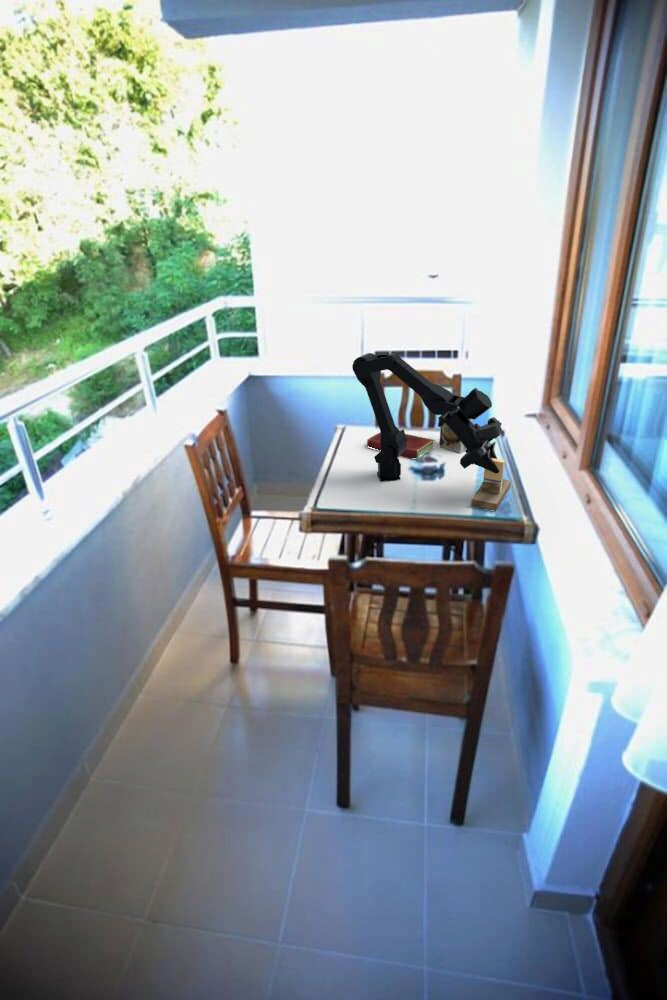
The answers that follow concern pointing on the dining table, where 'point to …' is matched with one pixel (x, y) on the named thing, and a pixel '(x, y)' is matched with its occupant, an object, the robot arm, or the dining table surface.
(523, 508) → the dining table surface
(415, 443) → the hardcover book
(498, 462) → the stub
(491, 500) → the stand
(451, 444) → the coffee box
